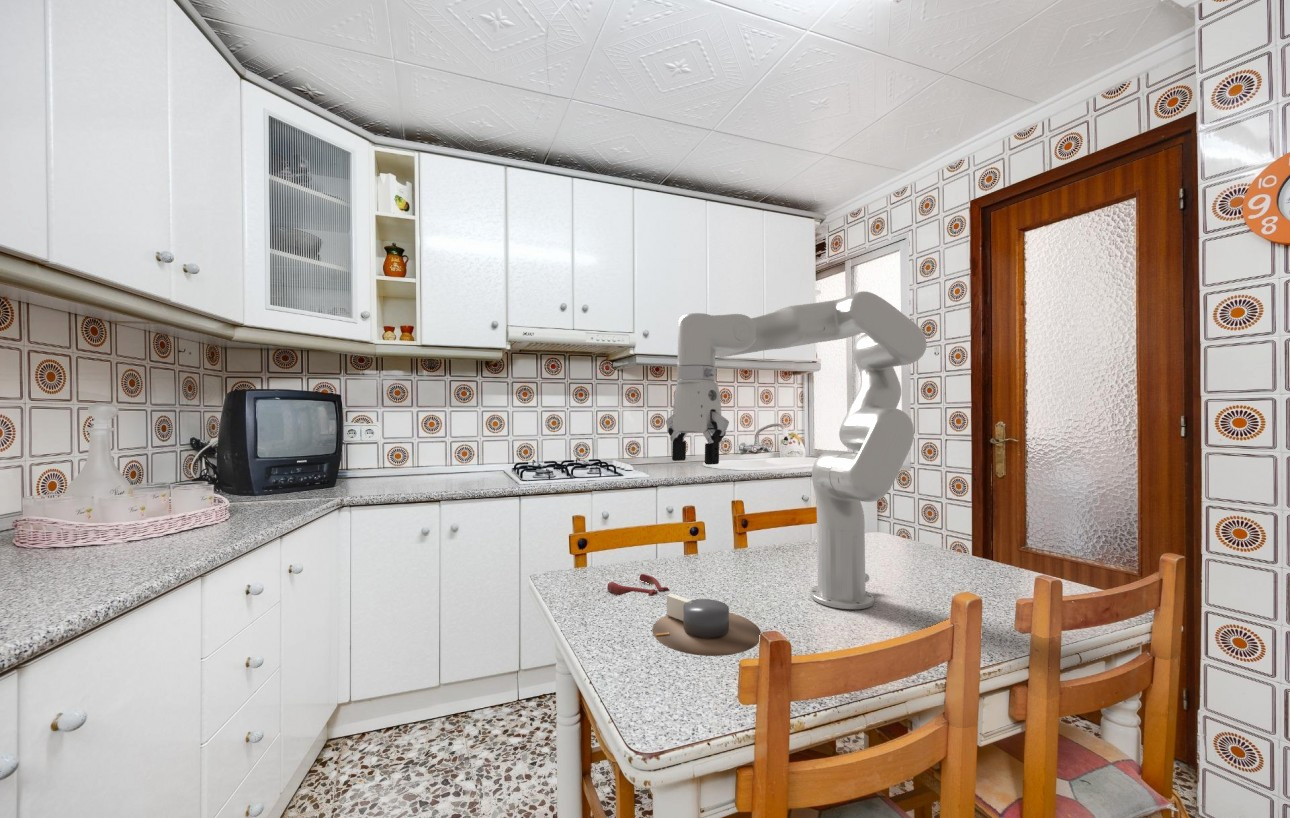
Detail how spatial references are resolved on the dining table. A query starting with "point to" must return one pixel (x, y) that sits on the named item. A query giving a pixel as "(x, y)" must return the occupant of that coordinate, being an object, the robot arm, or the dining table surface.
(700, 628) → the dial knob
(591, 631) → the dining table surface
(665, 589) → the pliers
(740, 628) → the dial plate
